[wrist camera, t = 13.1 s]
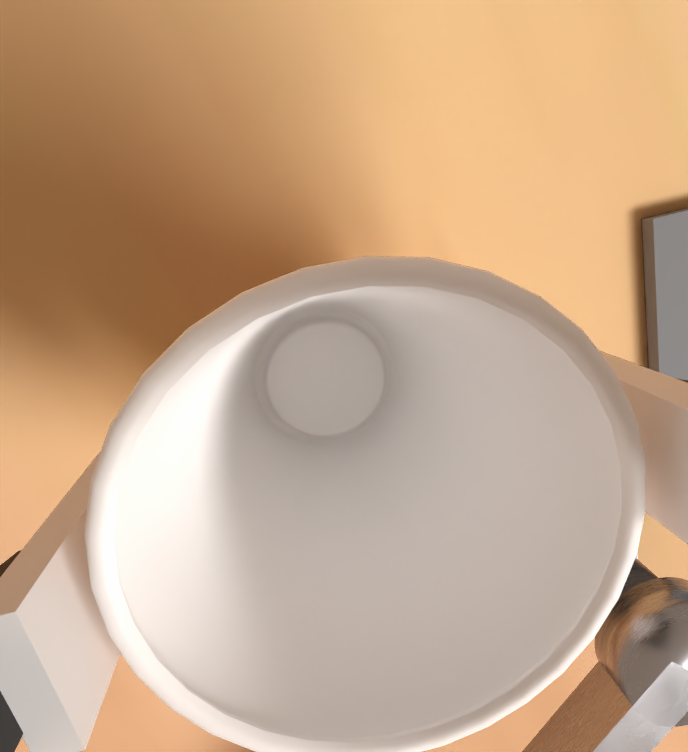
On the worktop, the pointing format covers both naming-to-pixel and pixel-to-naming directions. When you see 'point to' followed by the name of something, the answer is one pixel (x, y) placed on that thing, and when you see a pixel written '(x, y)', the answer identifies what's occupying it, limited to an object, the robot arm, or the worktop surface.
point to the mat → (667, 292)
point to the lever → (629, 677)
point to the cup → (365, 508)
